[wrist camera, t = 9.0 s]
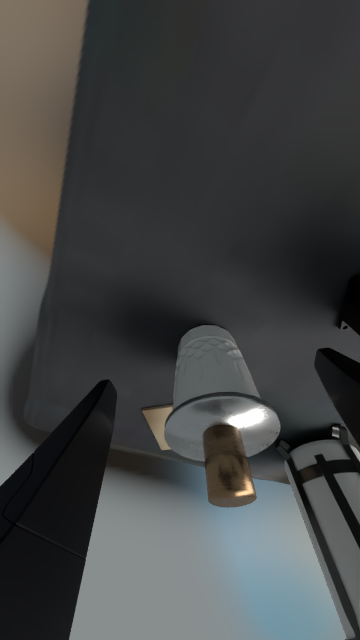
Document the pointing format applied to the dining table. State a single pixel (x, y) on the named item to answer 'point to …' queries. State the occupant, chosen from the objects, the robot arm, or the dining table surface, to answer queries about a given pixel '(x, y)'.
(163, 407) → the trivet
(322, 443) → the coffee press
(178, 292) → the dining table surface
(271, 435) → the lid
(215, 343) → the white cup
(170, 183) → the dining table surface
